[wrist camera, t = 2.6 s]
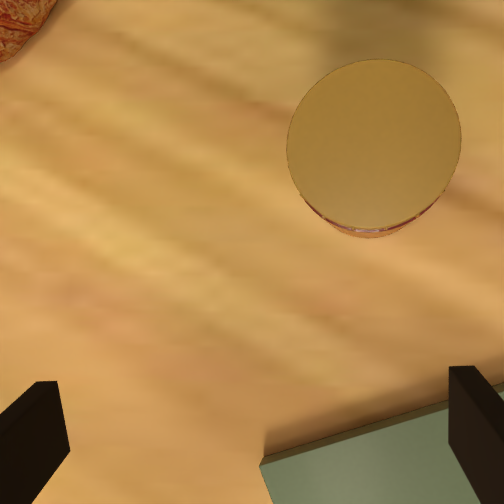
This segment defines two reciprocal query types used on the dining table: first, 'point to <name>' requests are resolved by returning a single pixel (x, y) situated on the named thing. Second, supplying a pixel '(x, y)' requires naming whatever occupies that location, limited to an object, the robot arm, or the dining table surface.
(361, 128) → the jam lid
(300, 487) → the corner board
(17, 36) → the croissant
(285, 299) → the dining table surface
